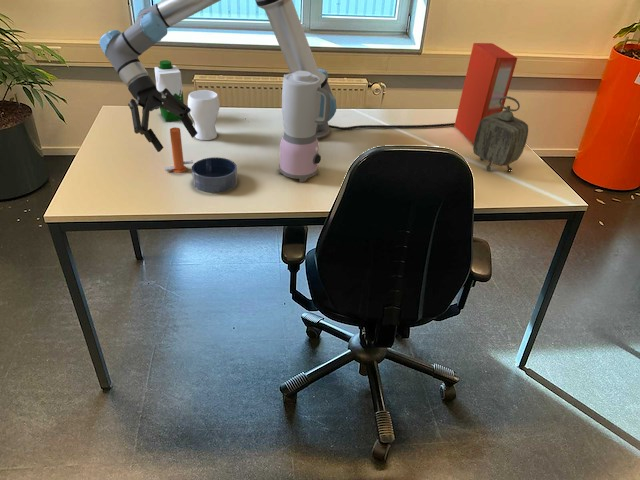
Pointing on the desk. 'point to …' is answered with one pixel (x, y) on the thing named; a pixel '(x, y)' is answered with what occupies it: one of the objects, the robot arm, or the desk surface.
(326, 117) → the blender
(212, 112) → the cup
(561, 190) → the desk surface
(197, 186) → the bowl
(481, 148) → the tabletop clock
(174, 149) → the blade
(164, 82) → the milk carton
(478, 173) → the desk surface
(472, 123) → the file binder
